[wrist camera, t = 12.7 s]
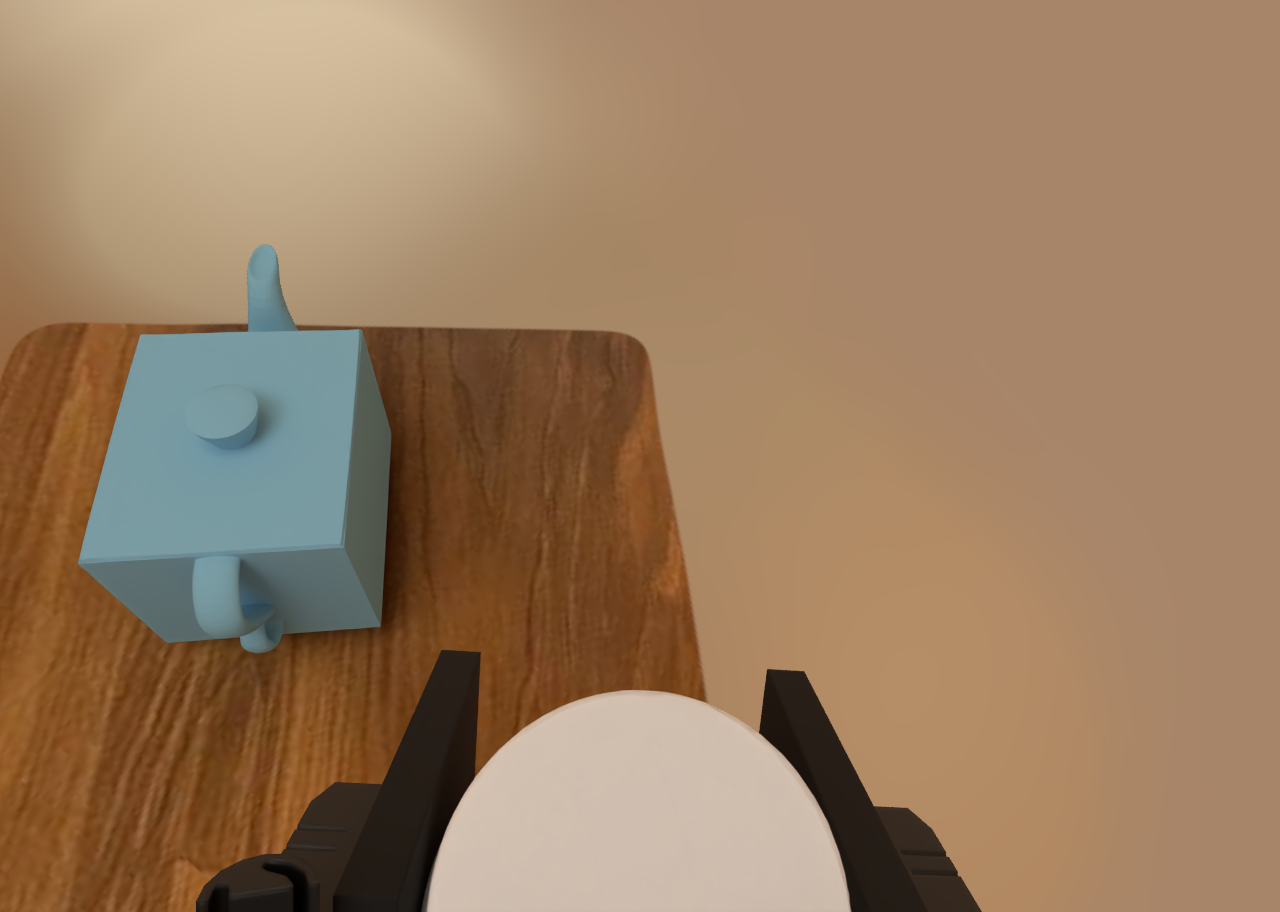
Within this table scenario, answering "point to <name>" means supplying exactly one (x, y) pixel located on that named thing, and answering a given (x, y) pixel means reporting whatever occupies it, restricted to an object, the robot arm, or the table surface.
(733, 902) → the pill bottle
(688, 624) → the table surface
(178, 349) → the teapot
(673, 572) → the table surface
